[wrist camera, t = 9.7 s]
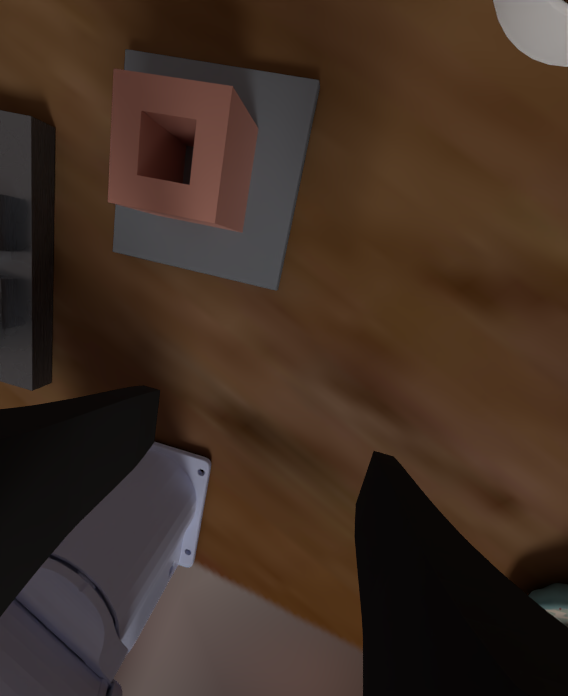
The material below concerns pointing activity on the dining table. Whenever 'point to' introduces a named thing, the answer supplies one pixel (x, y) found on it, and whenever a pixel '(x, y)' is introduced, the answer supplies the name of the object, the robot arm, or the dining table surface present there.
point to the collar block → (180, 149)
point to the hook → (536, 28)
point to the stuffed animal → (553, 600)
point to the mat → (265, 185)
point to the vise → (26, 250)
